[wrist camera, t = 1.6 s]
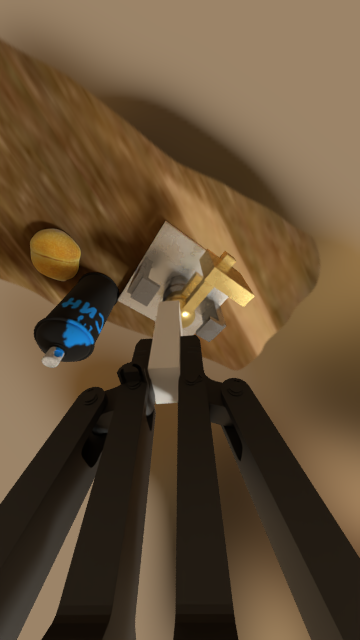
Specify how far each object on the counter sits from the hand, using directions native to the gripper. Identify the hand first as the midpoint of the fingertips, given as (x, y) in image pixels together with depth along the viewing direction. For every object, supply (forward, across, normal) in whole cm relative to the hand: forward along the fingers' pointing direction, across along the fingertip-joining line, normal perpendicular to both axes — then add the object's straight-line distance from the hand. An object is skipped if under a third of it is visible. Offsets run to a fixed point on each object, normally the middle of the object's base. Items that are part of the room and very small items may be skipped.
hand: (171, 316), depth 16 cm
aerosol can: (+26, -17, -9) cm, 32 cm away
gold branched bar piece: (+19, +1, -8) cm, 21 cm away
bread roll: (+26, -22, -1) cm, 34 cm away
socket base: (+26, 0, -10) cm, 28 cm away
